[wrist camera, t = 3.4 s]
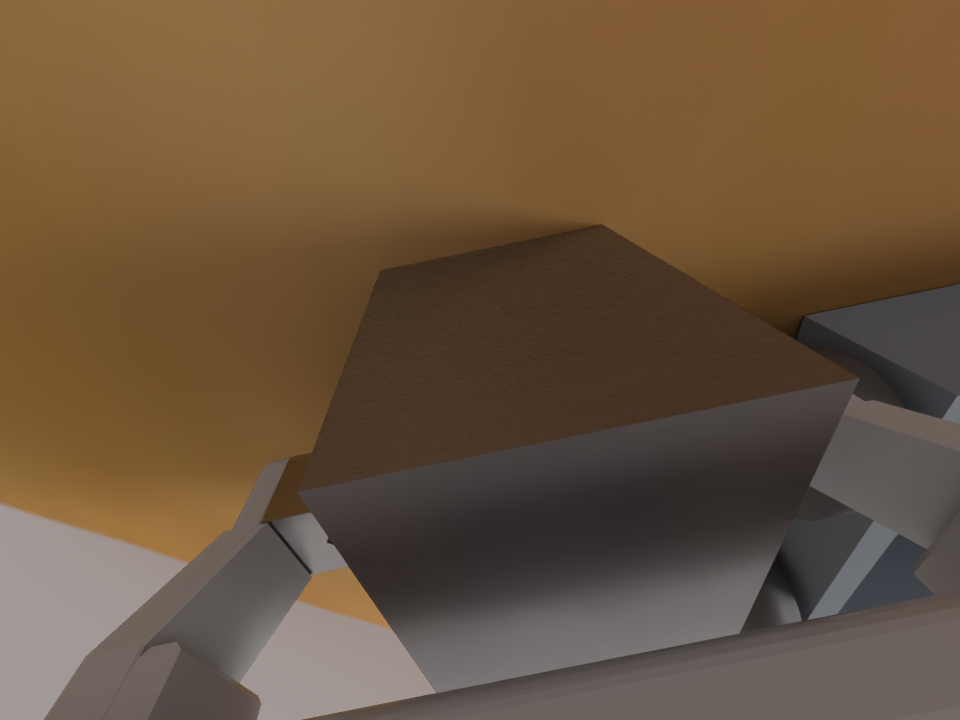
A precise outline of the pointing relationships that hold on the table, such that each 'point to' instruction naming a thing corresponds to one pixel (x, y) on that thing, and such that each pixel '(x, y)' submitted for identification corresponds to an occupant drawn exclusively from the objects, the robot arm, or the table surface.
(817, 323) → the chassis
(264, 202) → the table surface
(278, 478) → the robot arm
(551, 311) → the grey rectangular cuboid
